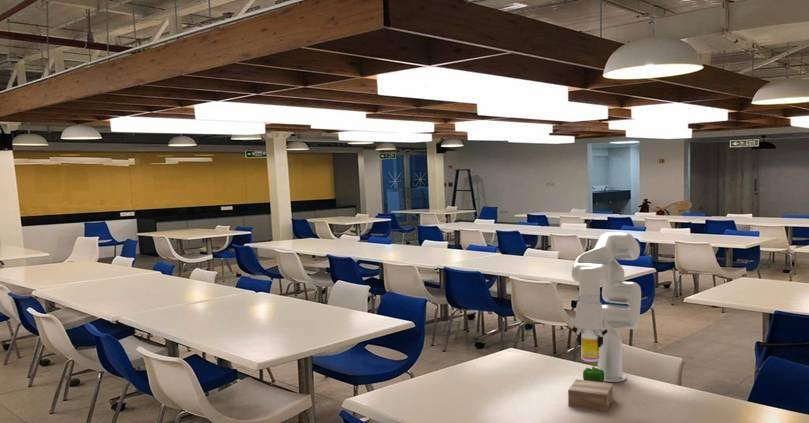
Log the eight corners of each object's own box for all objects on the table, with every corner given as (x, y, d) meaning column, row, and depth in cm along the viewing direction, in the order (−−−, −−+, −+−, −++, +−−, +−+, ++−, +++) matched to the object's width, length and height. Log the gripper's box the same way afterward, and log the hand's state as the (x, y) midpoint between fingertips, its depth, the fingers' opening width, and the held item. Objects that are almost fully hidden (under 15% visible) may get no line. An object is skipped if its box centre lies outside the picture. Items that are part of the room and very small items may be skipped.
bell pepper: (587, 384, 258) (586, 360, 258) (606, 387, 253) (606, 363, 253) (580, 390, 251) (579, 365, 251) (600, 393, 247) (599, 368, 246)
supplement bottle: (600, 362, 233) (599, 328, 232) (582, 362, 234) (581, 328, 233) (598, 357, 239) (598, 324, 238) (580, 357, 240) (580, 324, 240)
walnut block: (576, 394, 247) (576, 379, 246) (612, 398, 240) (612, 383, 240) (568, 405, 234) (568, 390, 234) (606, 411, 228) (606, 395, 228)
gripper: (564, 299, 236) (565, 345, 237) (611, 302, 228) (612, 350, 229) (568, 296, 243) (569, 341, 244) (614, 298, 235) (615, 345, 236)
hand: (590, 345), depth 236 cm, fingers closed on supplement bottle, 6 cm apart
